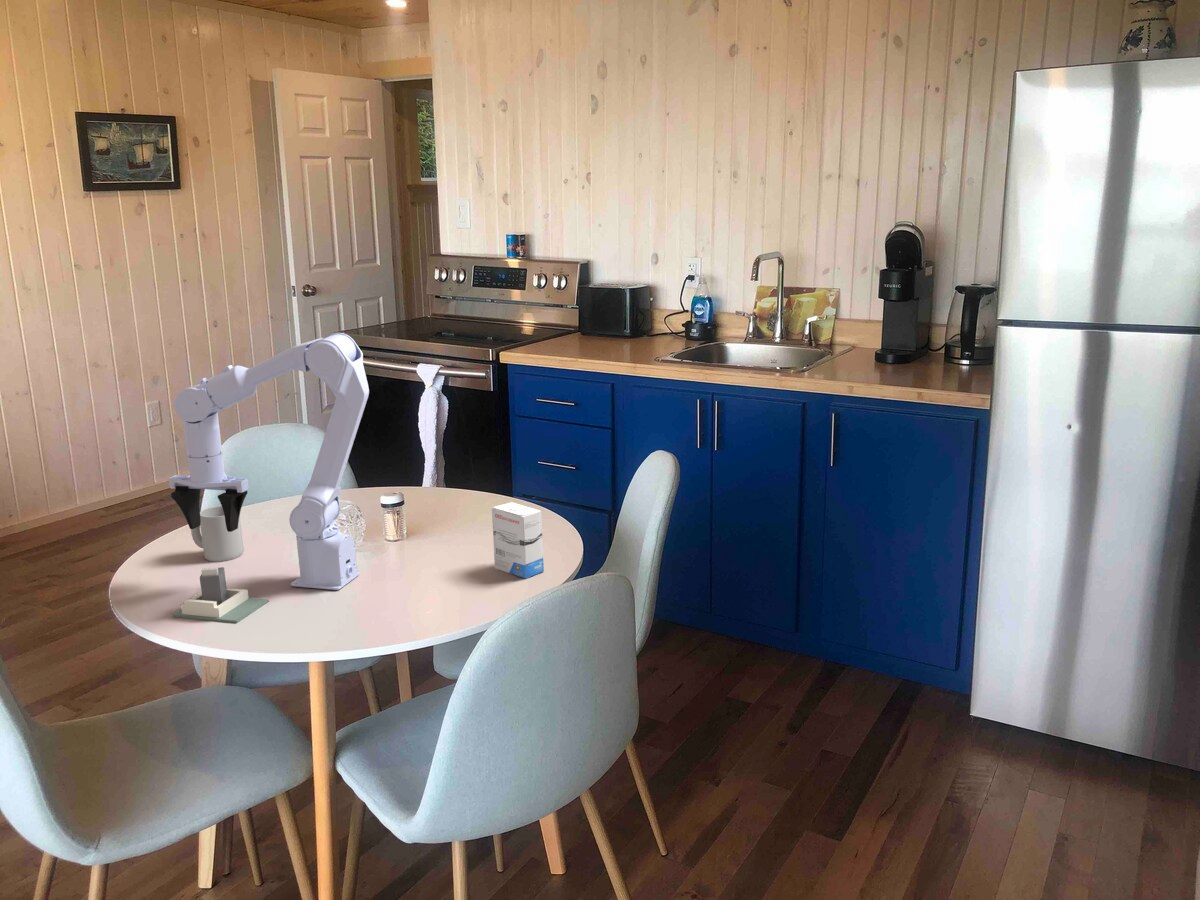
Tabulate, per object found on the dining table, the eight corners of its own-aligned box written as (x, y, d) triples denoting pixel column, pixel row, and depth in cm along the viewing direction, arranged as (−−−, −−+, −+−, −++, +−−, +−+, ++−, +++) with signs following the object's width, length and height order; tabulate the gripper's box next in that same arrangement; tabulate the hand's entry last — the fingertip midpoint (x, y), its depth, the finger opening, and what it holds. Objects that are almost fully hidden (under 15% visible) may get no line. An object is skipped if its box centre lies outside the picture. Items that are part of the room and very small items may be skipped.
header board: (268, 601, 164) (267, 585, 163) (236, 623, 156) (234, 606, 155) (207, 595, 167) (205, 580, 166) (172, 616, 159) (170, 600, 158)
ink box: (545, 571, 175) (543, 509, 172) (525, 579, 172) (522, 516, 169) (513, 561, 181) (511, 500, 178) (493, 568, 177) (490, 506, 174)
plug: (228, 600, 164) (223, 561, 162) (222, 610, 160) (218, 570, 158) (209, 602, 163) (204, 563, 162) (203, 611, 159) (198, 571, 158)
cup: (230, 563, 183) (225, 518, 181) (183, 560, 185) (177, 515, 183) (251, 550, 190) (246, 506, 187) (205, 547, 192) (200, 504, 189)
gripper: (255, 450, 170) (263, 524, 173) (183, 446, 173) (192, 519, 177) (230, 460, 163) (239, 536, 167) (156, 456, 167) (167, 531, 170)
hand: (213, 528), depth 171 cm, fingers open, 7 cm apart
